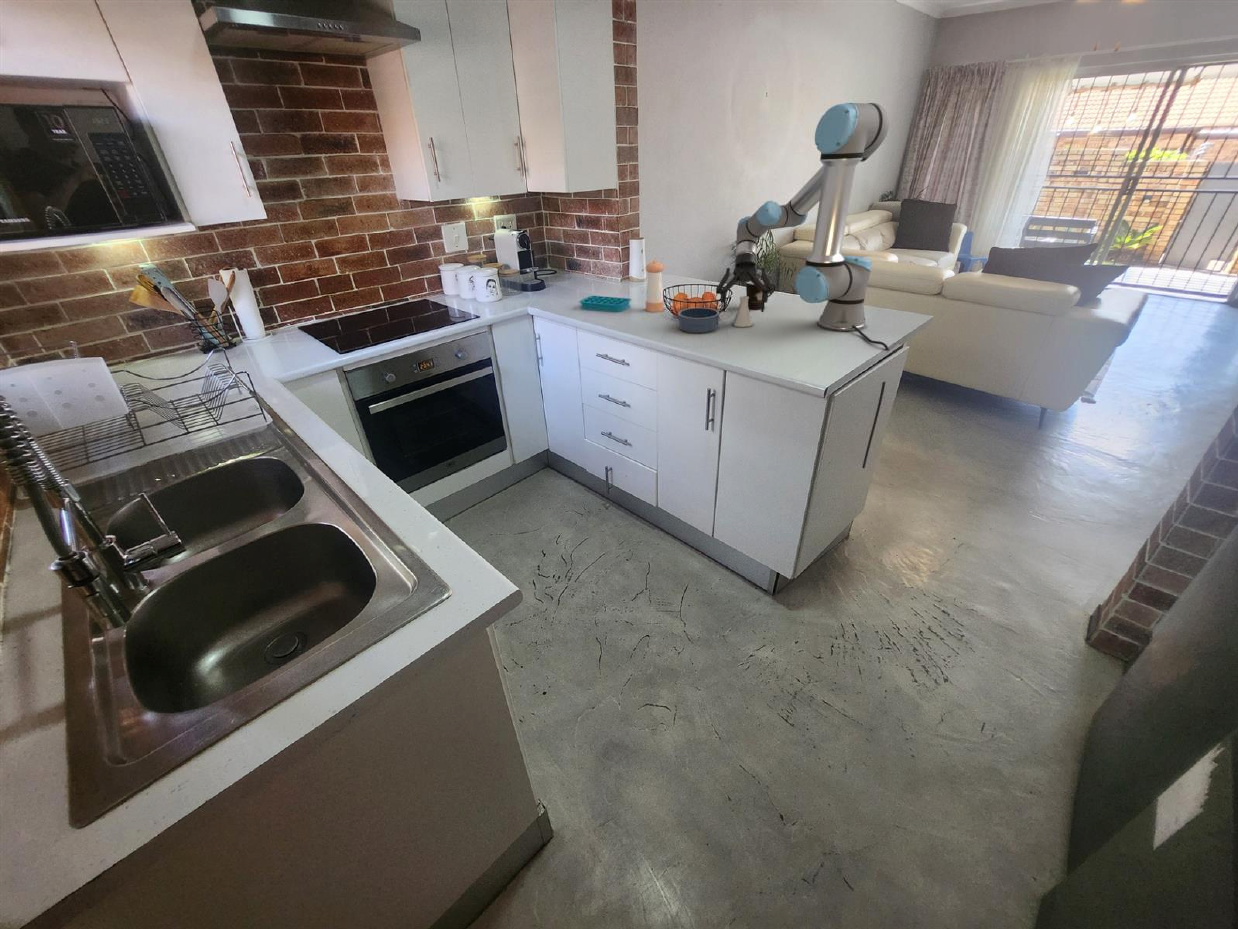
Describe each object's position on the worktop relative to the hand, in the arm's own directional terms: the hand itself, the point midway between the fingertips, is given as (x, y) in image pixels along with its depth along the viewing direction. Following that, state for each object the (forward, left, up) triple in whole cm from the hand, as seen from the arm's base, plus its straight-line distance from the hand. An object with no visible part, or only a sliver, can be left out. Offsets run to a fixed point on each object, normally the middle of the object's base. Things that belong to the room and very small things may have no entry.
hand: (743, 310), depth 182 cm
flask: (+1, -1, -6) cm, 6 cm away
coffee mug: (+18, -19, -6) cm, 26 cm away
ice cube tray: (+50, +36, -6) cm, 62 cm away
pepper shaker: (+36, +19, -6) cm, 41 cm away
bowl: (+5, +15, -6) cm, 17 cm away
